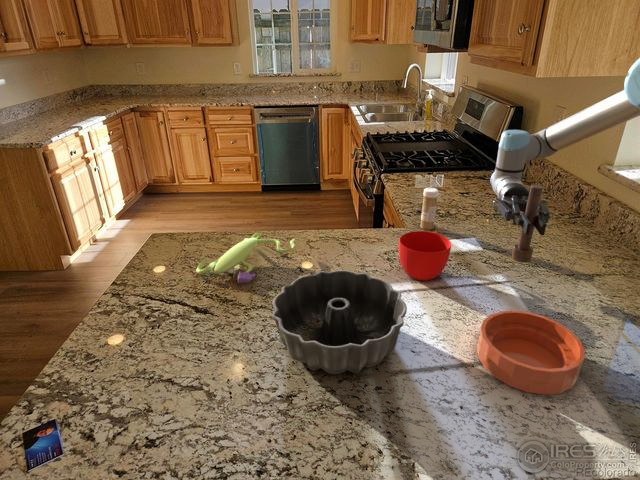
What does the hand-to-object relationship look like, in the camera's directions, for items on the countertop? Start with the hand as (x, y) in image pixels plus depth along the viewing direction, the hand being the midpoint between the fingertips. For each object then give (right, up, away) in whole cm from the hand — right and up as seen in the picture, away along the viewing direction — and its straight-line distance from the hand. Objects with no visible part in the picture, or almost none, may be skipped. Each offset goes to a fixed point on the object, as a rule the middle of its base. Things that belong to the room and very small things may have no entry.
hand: (535, 229), depth 98 cm
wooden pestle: (+1, -7, +9) cm, 12 cm away
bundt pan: (-46, -24, -10) cm, 53 cm away
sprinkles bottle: (-15, +1, +42) cm, 44 cm away
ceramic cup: (-22, -11, +16) cm, 30 cm away
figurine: (-69, -9, +22) cm, 73 cm away
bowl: (-10, -26, -15) cm, 32 cm away
